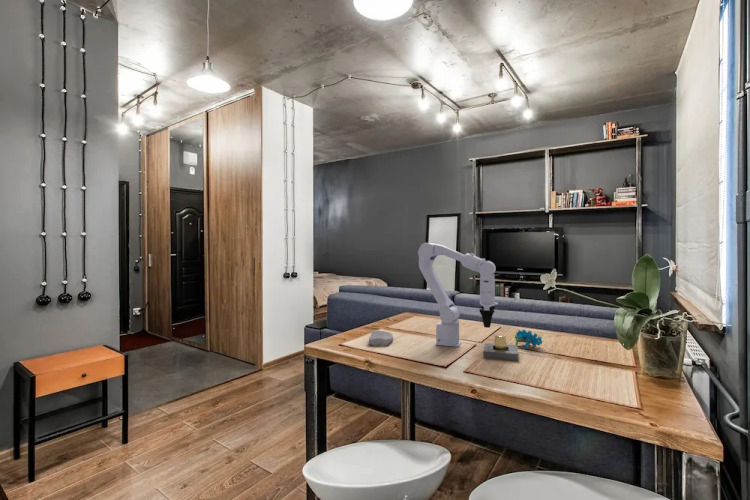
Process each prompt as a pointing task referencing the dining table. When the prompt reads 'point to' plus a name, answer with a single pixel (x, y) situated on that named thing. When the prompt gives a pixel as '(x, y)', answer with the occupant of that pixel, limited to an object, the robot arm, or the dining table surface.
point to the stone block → (380, 338)
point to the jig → (500, 352)
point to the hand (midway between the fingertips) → (487, 325)
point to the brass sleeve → (500, 342)
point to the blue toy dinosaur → (527, 338)
